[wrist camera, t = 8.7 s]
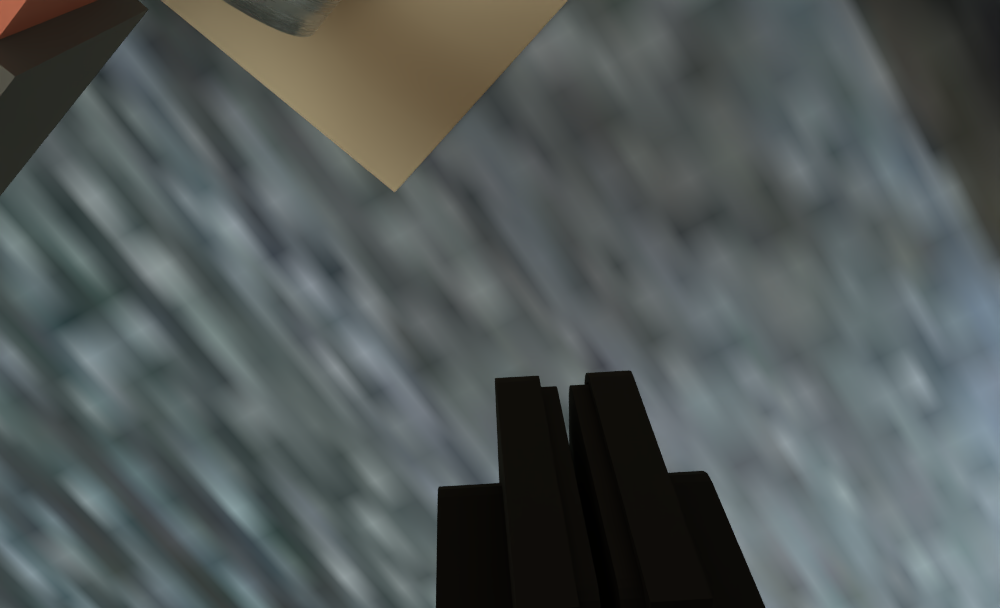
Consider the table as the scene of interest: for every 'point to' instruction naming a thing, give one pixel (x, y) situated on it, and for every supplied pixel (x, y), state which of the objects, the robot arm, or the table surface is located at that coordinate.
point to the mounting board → (380, 67)
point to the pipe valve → (288, 13)
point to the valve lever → (51, 65)
